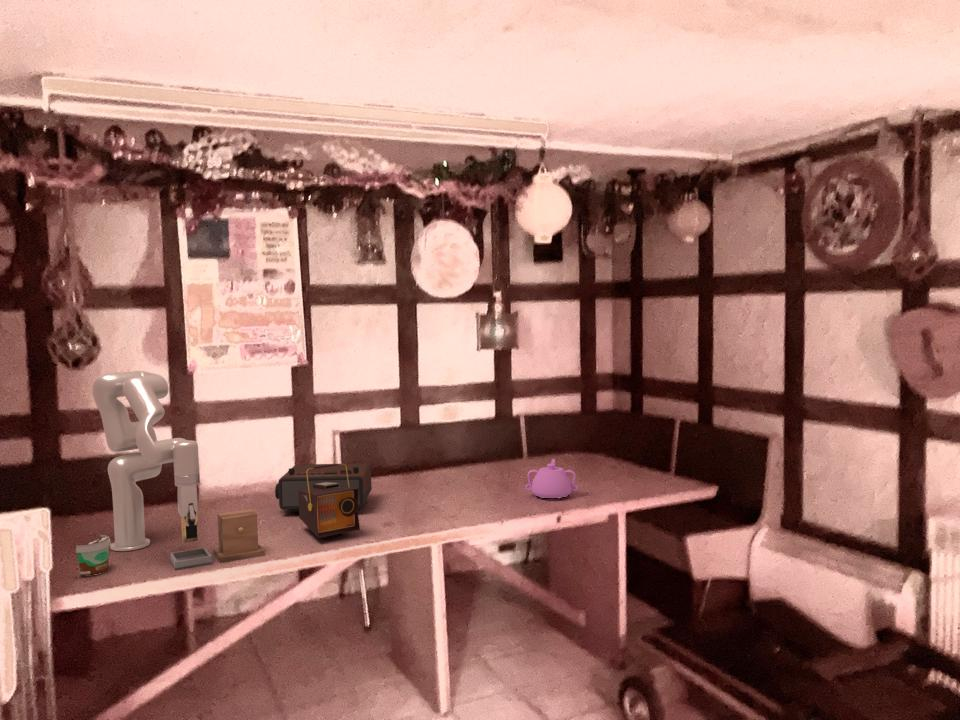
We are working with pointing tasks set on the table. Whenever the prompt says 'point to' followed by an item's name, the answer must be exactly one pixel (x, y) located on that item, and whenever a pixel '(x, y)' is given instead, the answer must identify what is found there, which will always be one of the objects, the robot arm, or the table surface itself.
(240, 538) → the mounted unit
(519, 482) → the table surface
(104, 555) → the food container
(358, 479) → the radio receiver
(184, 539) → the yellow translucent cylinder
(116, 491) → the robot arm
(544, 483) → the purple lidded pot
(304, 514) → the vintage portable radio
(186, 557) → the tray
